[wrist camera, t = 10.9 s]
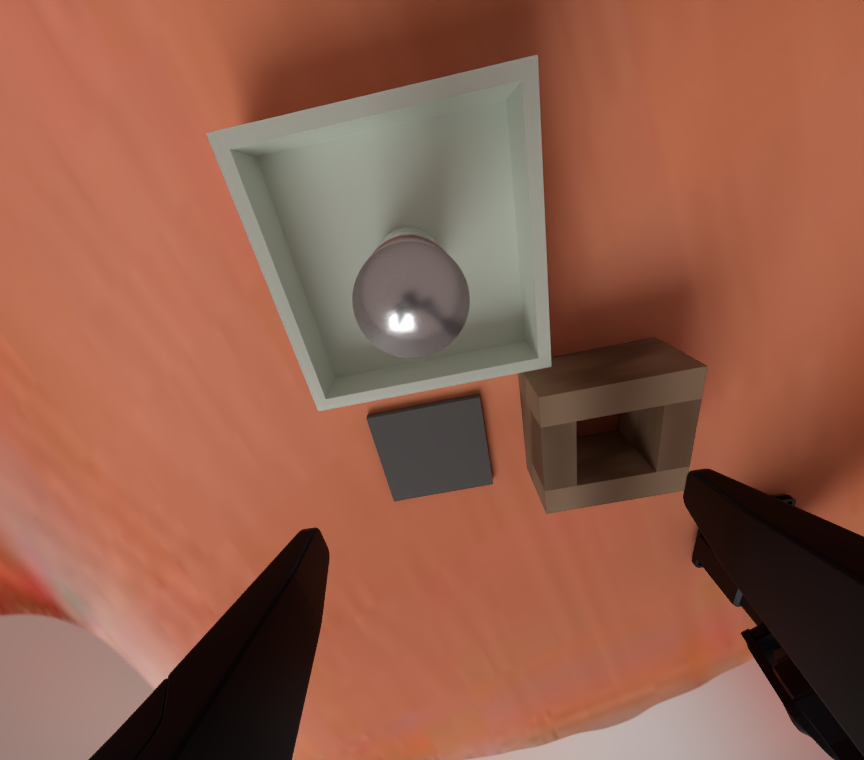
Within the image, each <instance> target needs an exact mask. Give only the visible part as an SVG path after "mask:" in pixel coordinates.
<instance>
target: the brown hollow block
mask: <svg viewBox="0 0 864 760" xmlns="http://www.w3.org/2000/svg"><path fill="white" fill-rule="evenodd" d="M551 366H552V367H548V368H542V369H537V370H532V371H527V372H522V373H518V375H519V386H520V397H521V408H522V419H523V429H524V440H525V451H526V462H527V469H528V471H529V474H530V476H531V479H532V481H533V483H534V486H535V488H536V490H537V493H538V495H539V498H540V500H541V502H542V505H543V507H544V509H545V512H546V514H548V513H554V512H560V511H566V510H572V509H578V508H584V507H590V506H596V505H602V504H608V503H614V502H619V501H625V500H631V499H637V498H643V497H649V496H655V495H661V494H667V493H673V492H679V491H684V489H685V483H686V477H687V474H688V472H689V466H690V461H691V455H692V450H693V444H694V438H695V433H696V427H697V422H698V416H699V411H700V405H701V399H702V394H703V388H704V383H705V377H706V371H707V366H706V365H705V364H703V363H701V362H699V361H697V360H695V359H694V358H692V357H690V356H688V355H686V354H685V353H683V352H681V351H679V350H677V349H675V348H674V347H672V346H670V345H668V344H666V343H664V342H663V341H661V340H659V339H657V338H651V339H646V340H641V341H635V342H630V343H625V344H620V345H615V346H609V347H604V348H599V349H594V350H589V351H583V352H578V353H573V354H568V355H563V356H557V357H552V358H551ZM619 413H620V421H619V431H614V432H608V433H603V434H597V435H592V436H586V437H581V438H576V421H581V420H586V419H592V418H597V417H603V416H608V415H614V414H619Z"/></svg>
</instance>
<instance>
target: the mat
mask: <svg viewBox="0 0 864 760" xmlns="http://www.w3.org/2000/svg"><path fill="white" fill-rule="evenodd" d="M367 421H368V424H369V427H370V430H371V433H372V436H373V439H374V442H375V445H376V448H377V451H378V454H379V457H380V460H381V463H382V466H383V469H384V472H385V475H386V478H387V481H388V484H389V487H390V490H391V493H392V496H393V499H394V501H399V500H404V499H410V498H416V497H422V496H427V495H433V494H439V493H444V492H450V491H456V490H462V489H467V488H473V487H479V486H484V485H490V484H493V480H492V473H491V467H490V460H489V453H488V447H487V440H486V434H485V427H484V421H483V414H482V408H481V401H480V396H479V394H477V395H471V396H466V397H461V398H455V399H450V400H445V401H440V402H434V403H429V404H424V405H418V406H413V407H408V408H402V409H397V410H392V411H387V412H381V413H376V414H371V415H367Z"/></svg>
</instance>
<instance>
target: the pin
mask: <svg viewBox="0 0 864 760" xmlns="http://www.w3.org/2000/svg"><path fill="white" fill-rule="evenodd" d="M352 304H353V311H354V316H355V318H356V321H357V324H358V325H359V327H360V329H361V331H362V332H363V334H364V335H365V336H366V338H367V339H368V340H369V341H370V342H371V343H372V344H374V345H375V346H376V347H377V348H379V349H380V350H382V351H384V352H386V353H388V354H391V355H393V356H397V357H401V358H422V357H426V356H430V355H432V354H435V353H437V352H439V351H441V350H443V349H444V348H446V347H447V346H448V345H449V344H451V343H452V342H453V341H454V340H455V338H456V337H457V336H458V335H459V333H460V332H461V330H462V329H463V327H464V325H465V322H466V320H467V317H468V312H469V306H470V295H469V288H468V284H467V281H466V278H465V276H464V274H463V272H462V270H461V269H460V267H459V266H458V264H457V263H456V262H455V261H454V260H453V259H452V258H451V257H450V256H449V255H448V254H447V253H446V252H445V250H444V249H443V248H442V247H441V246H440V245H439V244H438V243H437V242H436V241H435V240H434V239H433V238H432V237H431V236H430V235H429V234H428V233H427V232H425V231H424V230H422V229H420V228H417V227H412V226H404V227H400V228H397V229H395V230H393V231H391V232H390V233H389V234H388V235H387V236H386V237H385V238H384V239H383V241H382V242H381V243H380V244H379V246H378V247H377V248H376V250H375V251H374V252H373V253H372V255H371V256H370V257H369V258H368V260H367V261H366V262H365V264H364V265H363V266H362V268H361V269H360V271H359V273H358V275H357V277H356V280H355V283H354V288H353V294H352Z"/></svg>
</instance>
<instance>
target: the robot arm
mask: <svg viewBox="0 0 864 760" xmlns="http://www.w3.org/2000/svg"><path fill="white" fill-rule="evenodd" d="M683 499H684V503H685V506H686V508H687V510H688V511H689V513H690V514H691V516H692V518H693V519H694V521H695V523H696V524H697V526H698V527H699V529H698V534H697V538H696V543H695V548H694V552H693V557H692V562H693V564H694V565H695V566H696V567H698V568H701V567H703V568H704V569H705V570H706V571H707V573H708V574H709V575H710V576H711V578H712V579H713V580H714V581H715V583H716V584H717V585H718V587H719V588H720V589H721V590H722V592H723V593H724V594H725V595H726V597H727V598H728V599H729V600H730V602H731V603H732V604H733V605H735V606H737V607H740V606H742V608H743V609H744V610H745V611H746V613H747V614H748V615H749V616H750V617H751V619H752V620H753V621H754V622H755V624H756V625H757V626H756V627H754V628H752V629H750V630H749V629H747V630H745V631H743V632H741V635H742V636H743V638H744V639H745V641H746V643H747V644H748V645H747V646H748V649H749V650H750V652H751V653H752V655H753V657H754V658H755V660H756V661H757V663H758V664H759V666H760V668H761V669H762V671H763V673H764V674H765V676H766V677H767V679H768V680H769V682H770V684H771V685H772V687H773V688H774V690H775V691H776V693H777V695H778V696H779V698H780V699H781V701H782V703H783V705H784V707H785V709H786V711H787V713H788V715H789V717H790V719H791V721H792V722H793V724H794V725H795V726H796V727H797V729H798V730H799V731H800V732H802V733H804V734H806V735H808V736H810V737H812V738H813V739H814V740H815V741H816V743H817V744H818V745H819V746H820V747H821V748H822V749H823V750H824V751H825V752H826V753H827V754H828V755H829V756H831V757H832V758H833V759H834V760H864V537H863V536H861V535H859V534H856V533H854V532H852V531H850V530H847V529H845V528H843V527H840V526H838V525H836V524H834V523H831V522H829V521H827V520H825V519H822V518H820V517H818V516H816V515H813V514H811V513H809V512H806V511H804V510H802V509H800V508H797V507H795V504H796V500H795V499H794V498H792V497H791V496H790V495H782V496H776V497H772V496H770V495H768V494H766V493H763V492H761V491H759V490H757V489H754V488H752V487H750V486H747V485H745V484H743V483H741V482H738V481H736V480H734V479H732V478H729V477H727V476H725V475H722V474H720V473H718V472H716V471H713V470H711V469H700V470H693V471H690V472H689V473H688V474H687V477H686V483H685V489H684V494H683ZM328 566H329V549H328V547H327V545H326V542H325V540H324V538H323V536H322V534H321V532H320V530H319V529H318V528H309V529H303V530H301V531H300V532H299V533H298V534H297V535H296V536H295V537H294V538H293V539H292V540H291V541H290V542H289V543H288V545H287V546H286V547H285V548H284V549H283V550H282V551H281V552H280V553H279V554H278V556H277V557H276V558H275V559H274V560H273V561H272V562H271V563H270V564H269V565H268V567H267V568H266V569H265V570H264V571H263V572H262V573H261V574H260V575H259V576H258V577H257V579H256V580H255V581H254V582H253V583H252V584H251V585H250V586H249V587H248V588H247V590H246V591H245V592H244V593H243V594H242V595H241V596H240V597H239V598H238V599H237V601H236V602H235V603H234V604H233V605H232V606H231V607H230V608H229V609H228V610H227V611H226V613H225V614H224V615H223V616H222V617H221V618H220V619H219V620H218V621H217V622H216V624H215V625H214V626H213V627H212V628H211V629H210V630H209V631H208V632H207V633H206V635H205V636H204V637H203V638H202V639H201V640H200V641H199V642H198V643H197V644H196V646H195V647H194V648H193V649H192V650H191V651H190V652H189V653H188V654H187V655H186V656H185V658H184V659H183V660H182V661H181V662H180V663H179V664H178V665H177V666H176V667H175V669H174V670H173V671H172V672H171V673H170V674H169V676H168V679H165V680H163V682H162V683H161V684H160V685H159V686H158V687H157V688H156V689H155V690H154V691H153V693H152V694H151V695H150V696H149V697H148V698H147V699H146V700H145V701H144V702H143V703H142V704H141V706H140V707H139V708H138V709H137V710H136V711H135V712H134V713H133V714H132V715H131V716H130V717H129V718H128V720H126V722H125V723H124V724H123V725H122V726H121V727H120V728H119V729H118V730H117V731H116V732H115V733H114V734H113V735H112V736H111V737H110V739H108V740H107V741H106V743H104V744H103V746H102V747H100V748H99V750H98V751H97V752H96V753H95V754H94V755H93V756H92V757H91V758H90V759H89V760H292V757H293V752H294V747H295V743H296V738H297V734H298V729H299V725H300V720H301V716H302V711H303V706H304V702H305V697H306V693H307V688H308V684H309V679H310V675H311V670H312V665H313V661H314V656H315V652H316V647H317V643H318V638H319V633H320V628H321V623H322V616H323V608H324V600H325V591H326V583H327V574H328Z"/></svg>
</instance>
